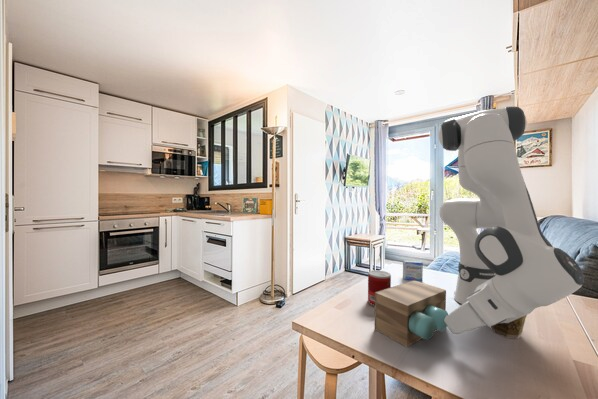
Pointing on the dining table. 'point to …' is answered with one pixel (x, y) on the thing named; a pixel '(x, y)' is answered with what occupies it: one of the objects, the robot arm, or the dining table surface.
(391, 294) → the block
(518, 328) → the ceramic cup
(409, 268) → the medicine box
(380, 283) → the canned food
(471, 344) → the dining table surface
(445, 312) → the knob
